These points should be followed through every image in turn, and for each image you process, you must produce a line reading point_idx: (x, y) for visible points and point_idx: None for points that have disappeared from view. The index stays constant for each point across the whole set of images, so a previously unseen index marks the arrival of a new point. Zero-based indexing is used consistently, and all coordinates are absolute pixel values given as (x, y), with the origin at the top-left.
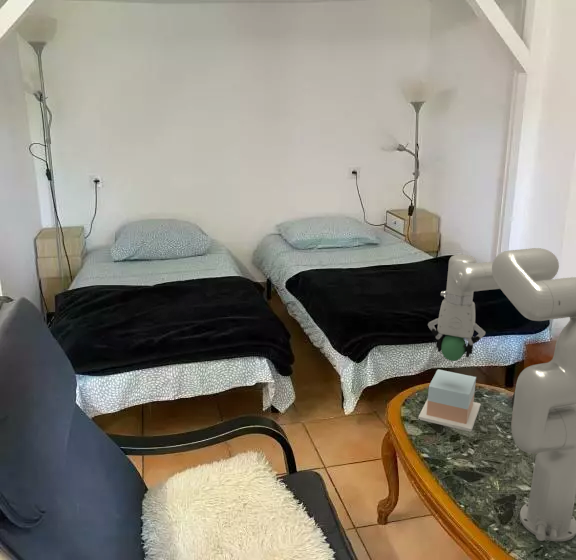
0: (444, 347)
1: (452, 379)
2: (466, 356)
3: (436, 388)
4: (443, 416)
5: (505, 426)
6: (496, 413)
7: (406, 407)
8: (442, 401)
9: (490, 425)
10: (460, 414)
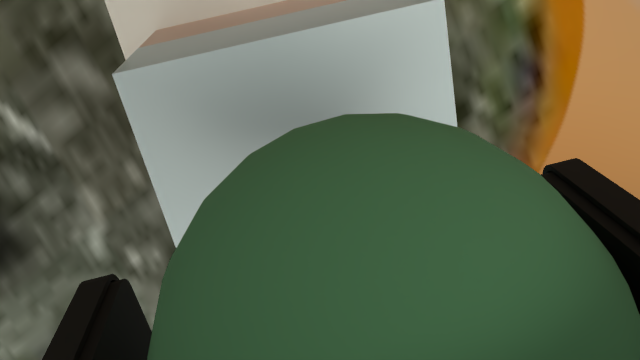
0: (512, 167)
1: None
2: (116, 281)
3: (378, 11)
4: (286, 1)
5: (5, 165)
6: (105, 244)
7: (510, 8)
8: (310, 10)
9: (67, 125)
10: (187, 29)
